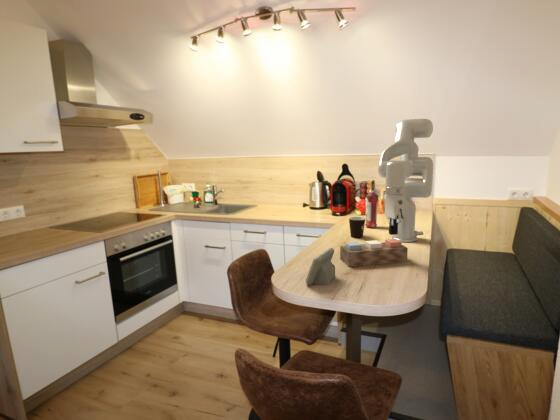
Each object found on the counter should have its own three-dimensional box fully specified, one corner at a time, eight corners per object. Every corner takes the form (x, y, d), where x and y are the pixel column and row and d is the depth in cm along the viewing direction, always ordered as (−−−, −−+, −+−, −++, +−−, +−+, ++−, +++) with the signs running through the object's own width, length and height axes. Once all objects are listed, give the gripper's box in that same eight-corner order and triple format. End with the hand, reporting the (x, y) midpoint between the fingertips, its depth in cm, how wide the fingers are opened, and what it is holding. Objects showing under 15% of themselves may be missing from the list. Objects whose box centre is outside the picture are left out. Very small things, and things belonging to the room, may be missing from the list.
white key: (376, 249, 157) (376, 240, 156) (381, 252, 152) (381, 243, 151) (365, 250, 156) (365, 241, 155) (370, 253, 151) (370, 244, 150)
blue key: (356, 250, 155) (356, 241, 154) (361, 254, 150) (361, 244, 149) (345, 251, 154) (345, 242, 154) (349, 255, 149) (349, 245, 149)
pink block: (395, 247, 158) (395, 238, 157) (401, 250, 153) (401, 241, 153) (384, 248, 157) (385, 239, 157) (390, 251, 152) (390, 242, 152)
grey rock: (323, 271, 143) (323, 245, 141) (343, 275, 137) (343, 249, 135) (298, 283, 131) (298, 255, 129) (318, 289, 125) (318, 260, 123)
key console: (395, 254, 161) (396, 241, 160) (407, 261, 152) (407, 247, 151) (340, 259, 157) (340, 245, 156) (348, 266, 147) (348, 252, 146)
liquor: (362, 226, 218) (363, 180, 213) (374, 225, 219) (375, 179, 214) (368, 229, 211) (368, 181, 206) (379, 228, 212) (380, 180, 207)
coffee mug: (355, 239, 189) (355, 220, 187) (345, 236, 196) (345, 218, 194) (372, 236, 194) (373, 218, 192) (362, 233, 201) (362, 215, 200)
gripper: (412, 193, 144) (410, 237, 147) (394, 189, 159) (393, 230, 161) (395, 193, 143) (393, 238, 146) (378, 189, 157) (377, 231, 160)
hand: (393, 234), depth 154 cm, fingers closed
